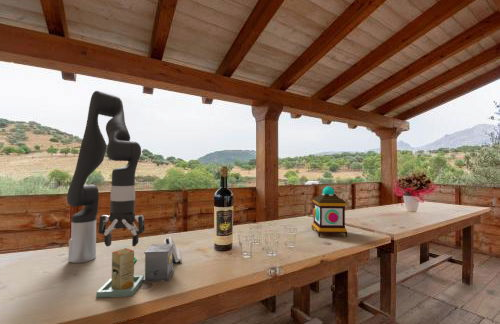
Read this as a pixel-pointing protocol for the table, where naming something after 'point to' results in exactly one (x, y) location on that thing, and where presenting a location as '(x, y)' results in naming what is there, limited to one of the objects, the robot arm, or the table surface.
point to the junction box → (158, 262)
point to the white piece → (174, 250)
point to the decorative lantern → (329, 213)
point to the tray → (110, 292)
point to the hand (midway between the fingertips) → (121, 245)
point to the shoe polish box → (122, 269)
